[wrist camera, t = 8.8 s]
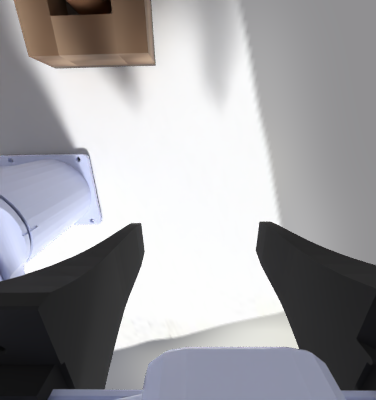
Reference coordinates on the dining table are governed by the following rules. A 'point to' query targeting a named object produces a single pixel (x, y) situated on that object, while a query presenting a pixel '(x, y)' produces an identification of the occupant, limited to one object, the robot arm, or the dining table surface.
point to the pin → (91, 6)
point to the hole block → (87, 34)
